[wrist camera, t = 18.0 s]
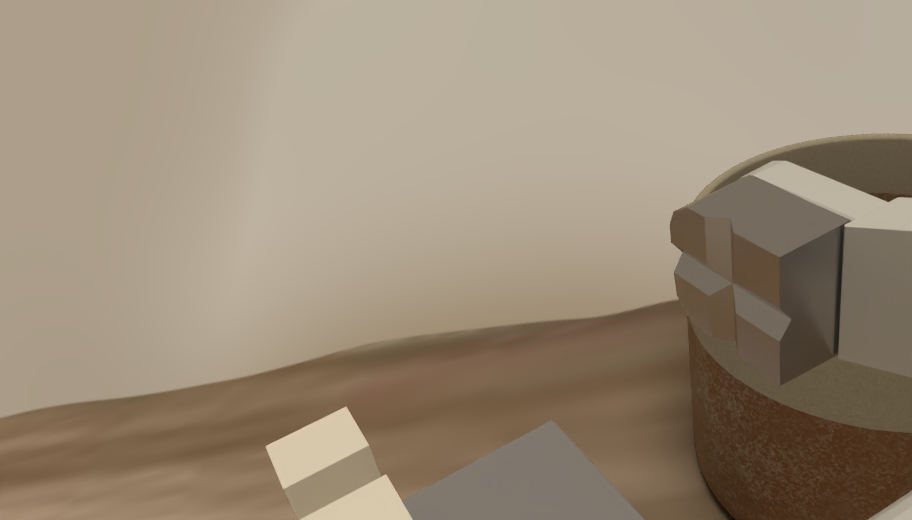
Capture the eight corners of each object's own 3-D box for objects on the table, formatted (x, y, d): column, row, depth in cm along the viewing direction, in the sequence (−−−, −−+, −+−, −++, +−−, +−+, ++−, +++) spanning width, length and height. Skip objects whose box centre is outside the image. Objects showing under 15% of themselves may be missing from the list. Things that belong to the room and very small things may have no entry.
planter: (868, 314, 48) (888, 101, 41) (1147, 500, 35) (1253, 238, 28) (637, 418, 45) (613, 209, 38) (850, 664, 32) (879, 420, 25)
